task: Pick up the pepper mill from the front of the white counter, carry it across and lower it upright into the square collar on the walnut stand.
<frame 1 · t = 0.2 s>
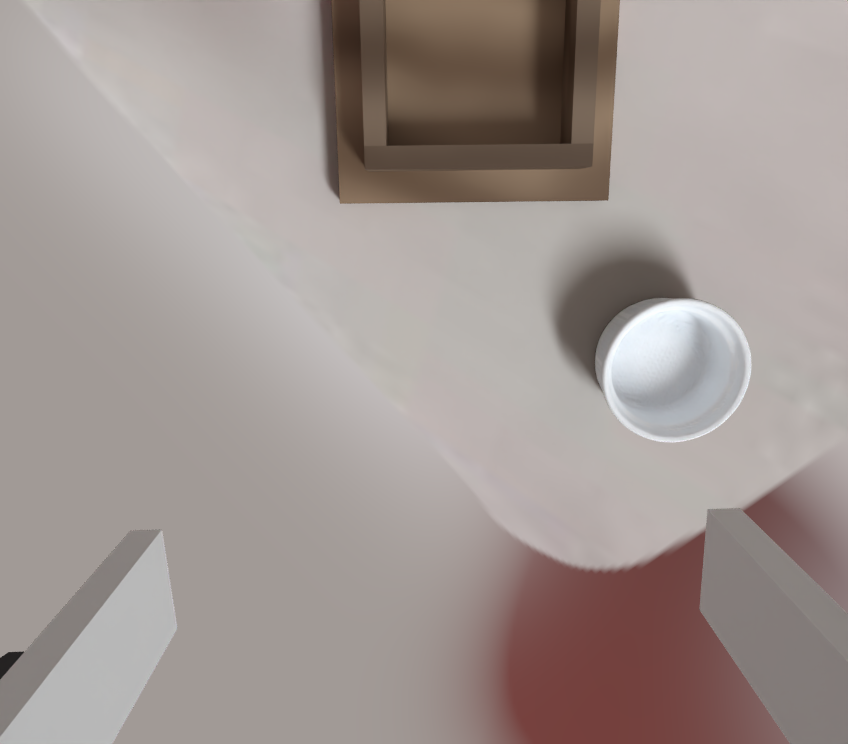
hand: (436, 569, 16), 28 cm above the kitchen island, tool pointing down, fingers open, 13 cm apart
ramekin: (651, 355, 43), on the kitchen island
walnut stand: (473, 61, 38), on the kitchen island
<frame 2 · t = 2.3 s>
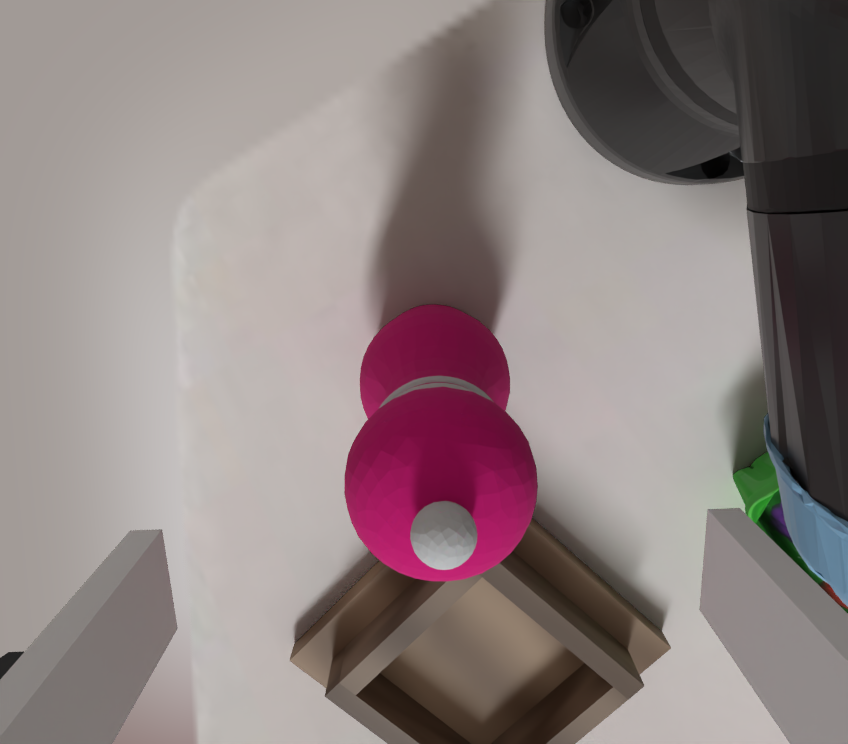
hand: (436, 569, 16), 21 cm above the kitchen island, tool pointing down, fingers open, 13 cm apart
fruit basket: (814, 498, 38), on the kitchen island
pepper mill: (433, 359, 36), on the kitchen island
walnut stand: (477, 637, 40), on the kitchen island
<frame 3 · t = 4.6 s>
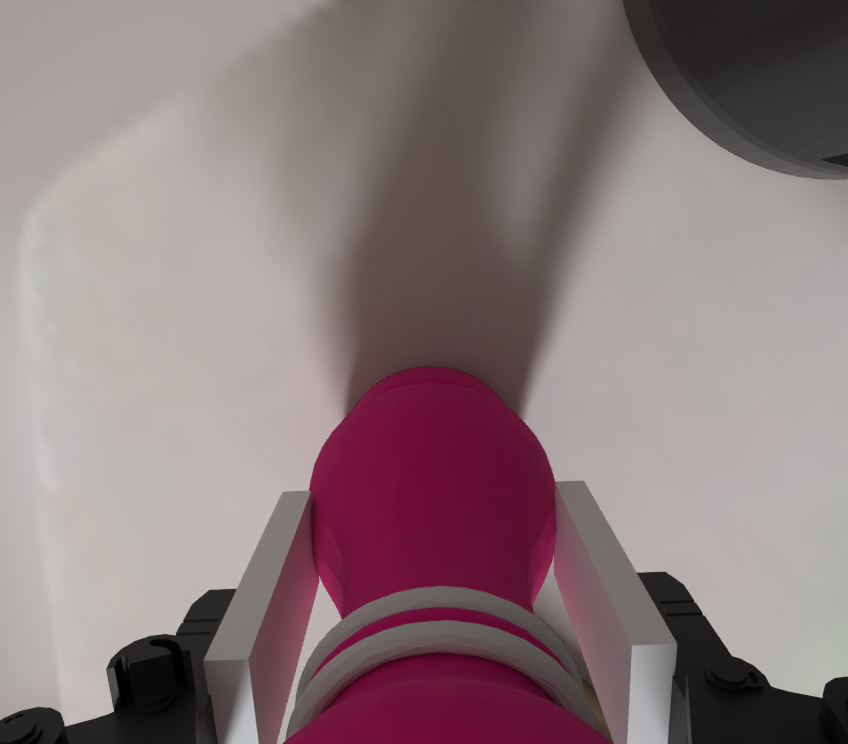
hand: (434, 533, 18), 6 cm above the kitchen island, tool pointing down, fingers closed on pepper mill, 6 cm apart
pepper mill: (430, 447, 23), on the kitchen island, touching gripper
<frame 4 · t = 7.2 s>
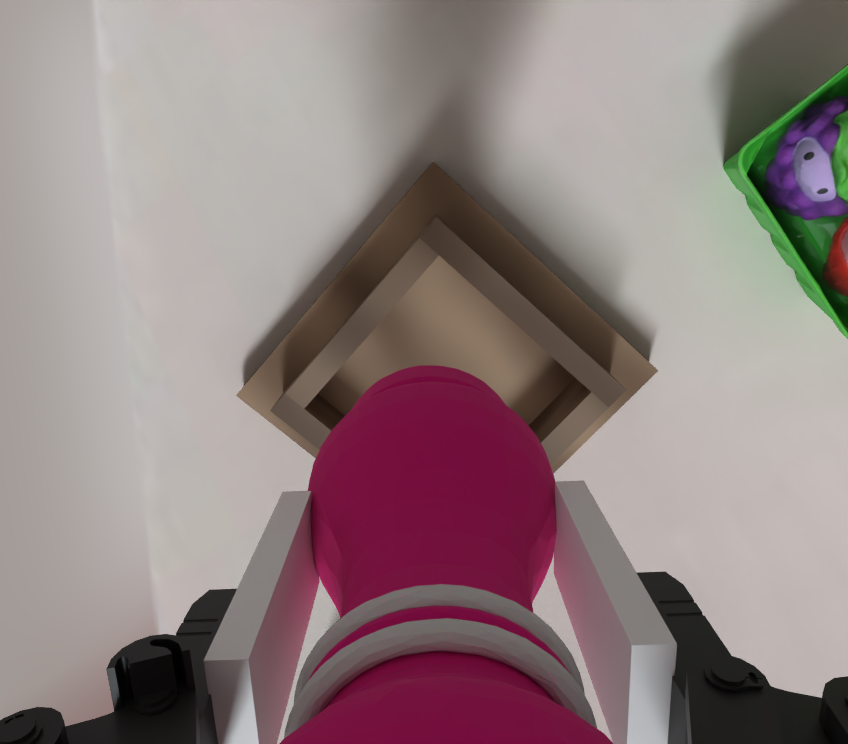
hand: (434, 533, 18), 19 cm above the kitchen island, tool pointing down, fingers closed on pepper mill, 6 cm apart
fruit basket: (816, 194, 34), on the kitchen island
pepper mill: (429, 446, 23), point 13 cm above the kitchen island, touching gripper
walnut stand: (444, 375, 37), on the kitchen island
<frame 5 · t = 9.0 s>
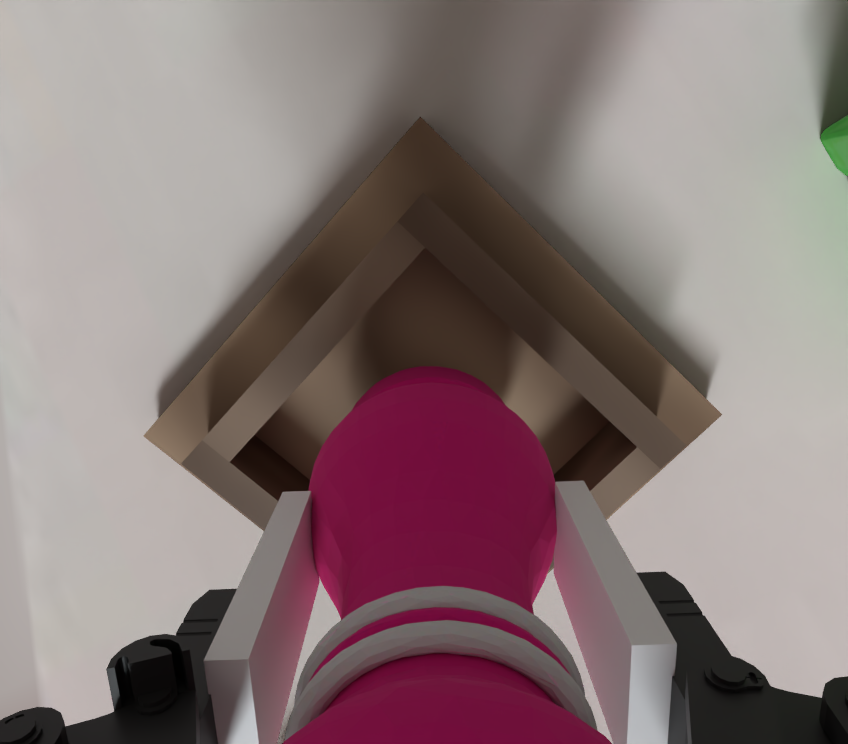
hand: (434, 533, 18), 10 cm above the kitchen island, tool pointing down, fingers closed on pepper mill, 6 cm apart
pepper mill: (430, 447, 23), point 4 cm above the kitchen island, touching gripper
walnut stand: (431, 413, 27), on the kitchen island
when the fingers open (9 cm above the kitchen island, at t = 10.0 s): pepper mill drops 1 cm, resting on walnut stand.
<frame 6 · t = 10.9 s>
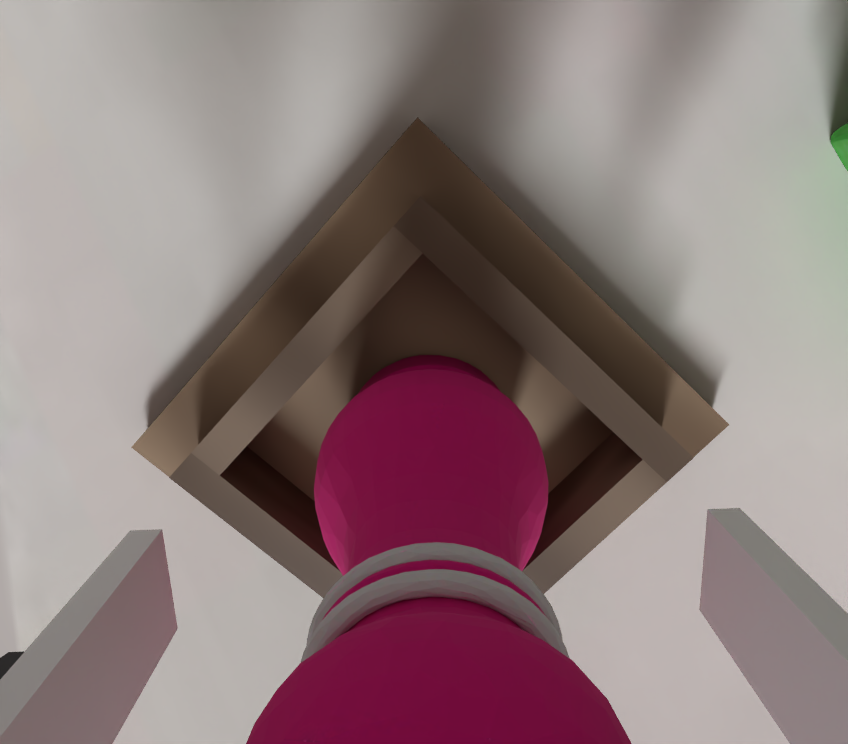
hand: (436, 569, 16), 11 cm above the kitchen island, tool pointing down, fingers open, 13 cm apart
pepper mill: (429, 431, 25), point 1 cm above the kitchen island, touching walnut stand
walnut stand: (429, 422, 26), on the kitchen island
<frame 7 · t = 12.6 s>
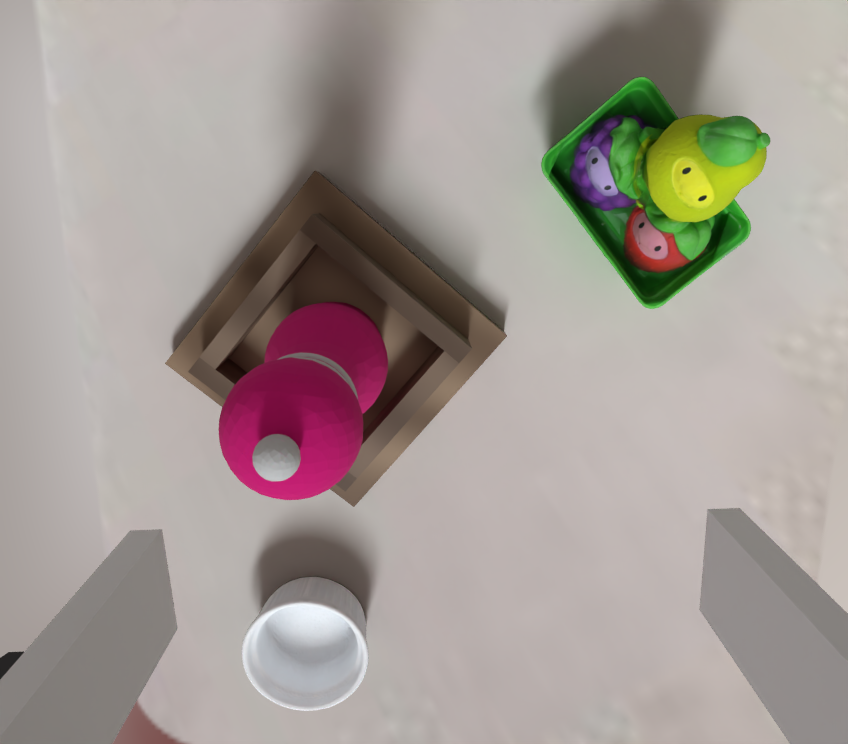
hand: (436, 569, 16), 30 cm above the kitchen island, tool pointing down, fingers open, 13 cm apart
fruit basket: (627, 192, 43), on the kitchen island
ramekin: (314, 618, 50), on the kitchen island
pepper mill: (335, 347, 43), point 1 cm above the kitchen island, touching walnut stand
walnut stand: (338, 345, 45), on the kitchen island
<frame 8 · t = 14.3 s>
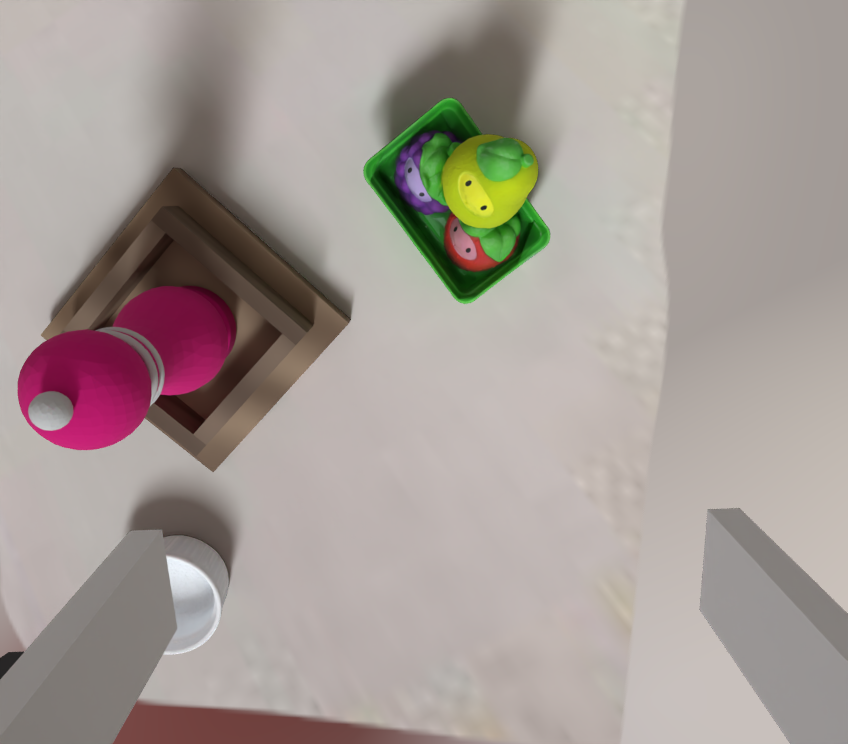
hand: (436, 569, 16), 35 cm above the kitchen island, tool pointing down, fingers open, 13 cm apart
fruit basket: (460, 198, 47), on the kitchen island
ramekin: (183, 573, 55), on the kitchen island
pepper mill: (195, 327, 48), point 1 cm above the kitchen island, touching walnut stand
walnut stand: (201, 325, 49), on the kitchen island
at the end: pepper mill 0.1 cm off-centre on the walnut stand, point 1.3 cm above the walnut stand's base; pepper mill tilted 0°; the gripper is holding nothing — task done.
